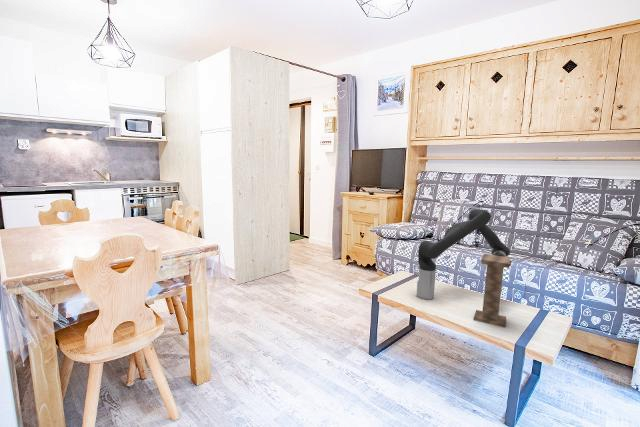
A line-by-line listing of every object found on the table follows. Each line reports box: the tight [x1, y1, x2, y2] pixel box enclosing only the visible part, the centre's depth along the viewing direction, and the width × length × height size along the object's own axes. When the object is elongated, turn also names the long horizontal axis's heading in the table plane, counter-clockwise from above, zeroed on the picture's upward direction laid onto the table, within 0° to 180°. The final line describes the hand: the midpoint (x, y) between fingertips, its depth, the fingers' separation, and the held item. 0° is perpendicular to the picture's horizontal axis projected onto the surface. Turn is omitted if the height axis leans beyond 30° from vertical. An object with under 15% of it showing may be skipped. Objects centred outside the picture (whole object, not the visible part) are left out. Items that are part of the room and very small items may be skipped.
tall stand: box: [473, 253, 512, 328], centre depth 164 cm, size 14×13×32 cm
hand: (497, 265), depth 185 cm, fingers closed on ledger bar, 4 cm apart
